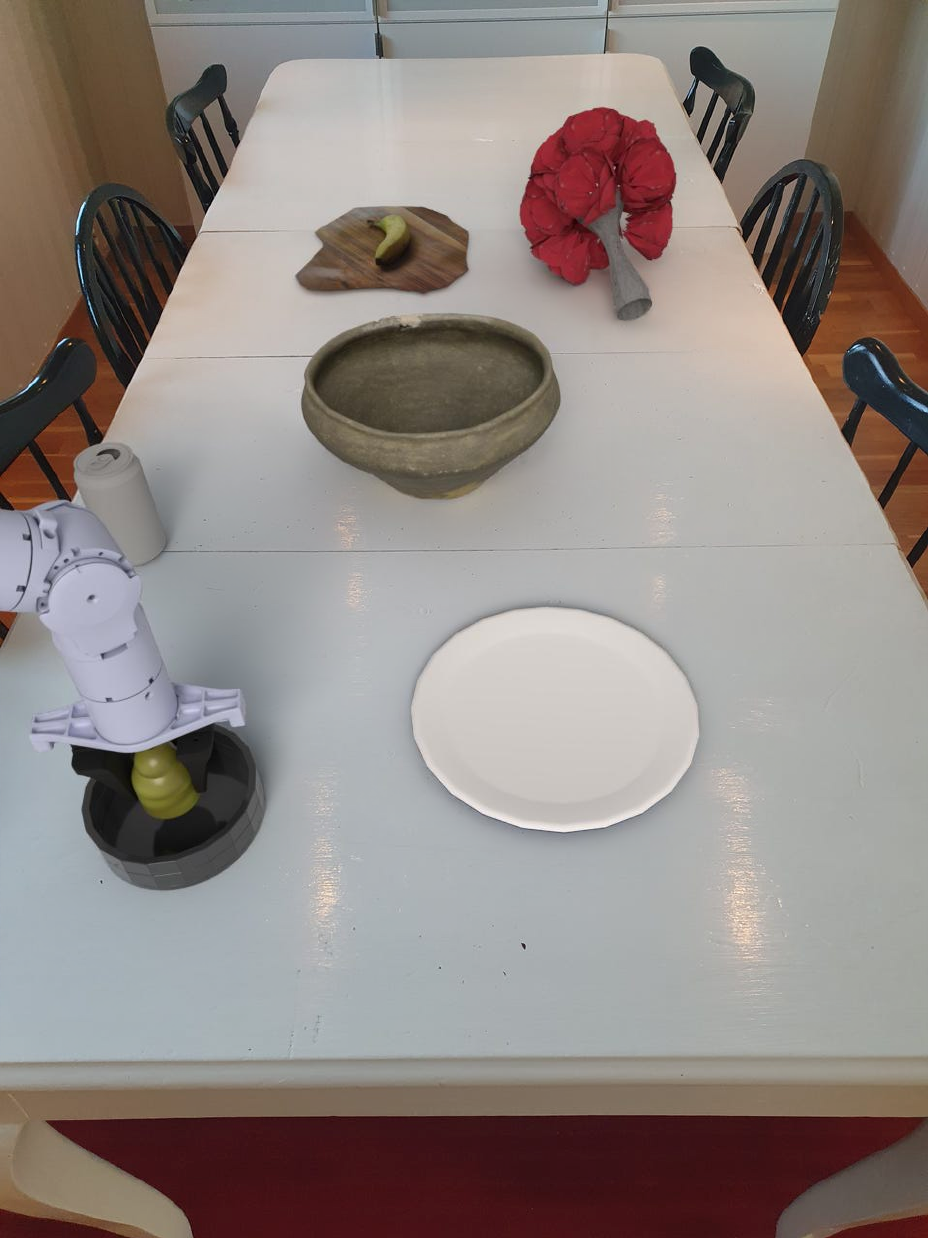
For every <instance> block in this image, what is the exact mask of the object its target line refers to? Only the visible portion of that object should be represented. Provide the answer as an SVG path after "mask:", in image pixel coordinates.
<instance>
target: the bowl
mask: <svg viewBox="0 0 928 1238" xmlns="http://www.w3.org/2000/svg"><path fill="white" fill-rule="evenodd" d="M303 379H304V385H303V389H302V393H301V398H300V399H301V400H300V408H301V413H302V417H303V420H304V423H305V425H306V427H307V428H308V430H309V432H310V433H311V435H312V436H314V438H315V440H317V441H318V443H320V444H321V446H322V447H323V448H324V449H326V450H327V451H328V452H329V453H330V454H331V455H333V456H335V457H336V458H337V459H338V460H340V461H341V462H343V463H345V464H347V465H349V466H351V467H353V468H355V469H357V470H359V471H362V472H364V473H367V474H370V475H373V476H374V477H376V478H377V479H379V480H380V481H382V482H384V483H385V484H387V485H389V486H390V487H391V488H393V489H394V490H396V491H397V492H398V493H401V494H403V495H406V496H408V497H412V498H416V499H421V500H426V499H427V500H429V499H430V500H448V499H449V500H451V499H456V498H459V497H463V496H465V495H467V494H469V493H471V492H473V491H475V490H477V489H478V488H479V487H480V486H481V485H482V484H484V483H485V482H486V481H487V480H488V479H490V478H491V477H493V476H494V475H495V474H496V473H497V472H499V471H500V470H501V469H502V468H504V467H505V466H506V465H508V464H509V463H511V462H513V461H514V460H515V459H516V458H518V457H519V456H521V455H522V454H523V453H525V452H526V451H527V450H529V449H530V448H532V446H534V444H535V443H536V442H537V441H539V439H540V438H541V437H543V435H544V434H545V433H546V431H547V430H548V429H549V428H550V426H551V424H552V423H553V421H554V420H555V418H556V416H557V414H558V411H559V410H560V407H561V400H562V399H561V398H562V396H561V388H560V384H559V380H558V377H557V375H556V373H555V370H554V365H553V360H552V357H551V354H550V351H549V349H548V348H547V347H546V346H545V345H544V344H543V342H542V341H541V340H540V339H539V337H538V336H537V335H535V334H534V333H533V332H532V331H530V330H528V329H526V328H524V327H522V326H520V325H518V324H516V323H512V322H510V321H508V320H506V319H505V320H504V319H501V318H497V317H493V316H488V315H479V314H471V313H457V312H456V313H455V312H449V313H448V312H443V313H441V312H439V313H437V312H436V313H413V314H404V315H391V316H390V317H383V318H380V319H378V321H376V320H373V321H369V322H366V323H363V324H360V325H358V326H355V327H352V328H350V329H347V330H345V331H343V332H340V333H339V334H338V335H336V336H334V337H333V338H331V339H330V340H328V341H327V342H325V343H324V344H323V345H322V346H321V347H320V348H319V349H318V350H317V351H316V352H314V354H313V355H312V357H311V358H310V360H309V361H308V363H307V365H306V367H305V369H304V374H303Z"/></svg>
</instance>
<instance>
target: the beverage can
mask: <svg viewBox="0 0 928 1238" xmlns="http://www.w3.org/2000/svg"><path fill="white" fill-rule="evenodd" d="M73 468H74V472H73V479H74V482H75V484H76V486H77V489H78V491H79V494H80V496H81V499H82V501H83V504H84V507H85V508H87V509H89V510H90V511H92V512H93V513H94V514H95V515H96V516H97V517H98V518H99V519H100V520H101V521H102V522H103V523H104V525H105V526H106V527H107V529H108V530H109V532H110V534H111V535H112V537H113V538H114V540H115V541H116V543H117V544H118V546H119V547H120V549H121V550H122V552H123V553H124V555H125V556H126V558H127V559H128V561H129V562H130V564H131V565H132V567H133V568H134V567H140V566H143V565H146V564H147V563H150V562H151V561H153V560H155V558H157V557H158V556H159V555H160V554H161V553H162V552H163V550H164V549H165V547H166V544H167V537H166V534H165V530H164V527H163V525H162V522H161V519H160V516H159V511H158V509H157V507H156V503H155V501H154V498H153V495H152V492H151V488H150V486H149V484H148V480H147V477H146V474H145V471H144V468H143V465H142V462H141V459H140V458H139V457H138V456H137V455H136V454H135V453H134V451H133V449H132V448H131V447H130V446H129V445H127V444H125V443H122V442H117V441H109V442H108V441H107V442H100V443H96V444H94V445H91V446H89V447H87V448H85V449H83V450H82V451H81V452H79V453H78V454H77V455H76V456H75V458H74V460H73Z"/></svg>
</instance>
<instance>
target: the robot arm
mask: <svg viewBox="0 0 928 1238" xmlns="http://www.w3.org/2000/svg"><path fill="white" fill-rule="evenodd" d="M142 592H143V580H142V575H140V574H136V572H135V569H134V567H132V565H131V564H130V562H129V561H128V559H127V558H126V556H125V555H124V553H123V552H122V550H121V549H120V547H119V546H118V544H117V543H116V541H115V540H114V538H113V537H112V535H111V534H110V532H109V530H108V529H107V527H106V526H105V525H104V523H103V522H102V521H101V520H100V519H99V518H98V517H97V516H96V515H95V514H94V513H93V512H92V511H90V510H89V509H87V508H86V506H82V505H79V504H76V503H73V502H71V501H69V500H67V499H58V500H50V501H47V502H44V503H41V504H39V505H36V506H34V507H32V508H30V509H25V510H19V509H13V510H10V509H3V508H0V612H8V613H9V612H11V613H22V614H23V613H29V614H30V613H31V614H37V613H39V614H40V615H39V616H38V618H39V620H40V622H41V623H42V624H43V626H44V627H46V628H47V629H48V630H50V633H51V639H52V643H53V644H54V646H55V649H56V650H57V652H58V654H59V657H60V658H61V660H62V663H63V664H64V667H65V668H66V670H67V672H68V675H69V677H70V679H71V681H72V683H73V685H74V686H75V689H76V692H77V693H78V695H79V697H80V699H81V700H78V701H76V702H72V703H70V704H67V705H65V706H63V707H59V708H57V709H53V710H50V711H46V712H41V713H35V714H32V717H31V721H30V725H29V729H28V732H27V733H28V734H27V737H28V739H29V741H30V742H31V744H32V746H33V748H34V749H35V751H36V752H37V753H45V752H51V751H52V750H53V749H54V748H55V744H59V743H60V744H65V745H66V744H67V745H69V746H70V748H71V752H72V756H71V761H70V763H71V764H70V765H71V768H72V770H73V771H74V773H75V774H76V775H77V776H81V777H87V778H89V779H90V778H93V779H95V780H98V781H100V782H102V783H104V784H106V785H107V786H109V787H110V788H112V789H113V790H115V791H116V792H117V793H119V794H120V795H121V796H122V797H124V798H125V799H126V800H127V801H128V802H137V801H138V796H137V794H136V792H135V790H134V788H133V785H132V780H131V774H132V768H133V765H134V763H133V761H132V759H131V757H130V755H129V753H133V752H140V751H144V750H147V749H150V748H152V747H155V746H157V745H160V744H162V743H165V742H167V741H170V740H172V739H175V738H177V737H178V738H177V750H176V758H177V760H178V761H180V762H181V763H182V764H183V765H184V767H185V768H186V769H187V771H188V773H189V775H190V777H191V780H192V784H193V787H194V789H195V791H196V792H197V793H203V792H206V791H207V776H208V771H207V765H206V764H207V762H208V760H209V758H210V756H211V753H212V748H213V736H214V723H215V724H216V723H222V722H228V723H229V725H230V727H231V728H237V727H244V726H246V720H247V709H246V708H247V704H246V701H245V698H244V694H243V691H242V688H241V687H240V688H239V687H238V688H227V689H224V688H213V687H207V686H199V685H193V684H186V683H181V682H180V683H179V682H173V681H171V679H170V675H169V673H168V671H167V668H166V665H165V663H164V660H163V657H162V655H161V652H160V650H159V649H160V648H159V647H158V643H157V641H156V639H155V636H154V633H153V631H152V628H151V625H150V623H149V620H148V618H147V615H146V612H145V609H144V607H143V606H142V604H141V603H140V600H141V597H142V594H143V593H142Z"/></svg>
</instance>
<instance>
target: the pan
mask: <svg viewBox="0 0 928 1238" xmlns="http://www.w3.org/2000/svg"><path fill="white" fill-rule="evenodd" d="M177 738H178V737H177ZM177 738H175V739H172V740H170V742H171V743H173V744H174V746H176V747H177ZM129 755H130V757H131V759H132V761H133V763H134V755H135V752H133V753H129ZM206 765H207V771H208V776H207V791H206V792H203V793H201V794H200V797H199V799H198V801H197V802H196V804H195V805H194V806H193V807H192V808H191V809H190V810H189V811H188V812H186V813H184V814H183V815H181V816H178V817H175V818H171V819H159V818H155V817H153V816H151V815H149V814H148V813H147V812H146V811H145V810H144V808H143V806H142V804H141V802H140V800H139V798H138V801H137V802H128V801H127V800H126V799H125V798H124V797H122V796H121V795H120V794H119V793H117V792H116V791H115V790H113V789H112V788H110V787H109V786H107V785H106V784H104V783H102V782H100V781H98V780H95V779H93V778H90V777H89V780H88V782H87V783H86V785H85V788H84V793H83V798H82V803H81V809H80V810H81V811H80V812H81V815H82V816H81V817H82V820H83V825H84V830H85V832H86V834H87V836H88V838H89V839H90V841H91V843H92V845H93V846H94V848H95V850H96V851H97V853H98V855H99V856H100V857H101V858H102V860H103V861H104V863H105V864H106V866H107V867H108V869H109V870H110V871H111V872H112V873H113V874H114V875H115V876H117V877H118V878H119V879H121V880H122V881H124V882H126V883H127V884H129V885H132V886H135V887H137V888H139V889H144V890H145V889H146V890H150V891H174V890H180V889H185V888H190V887H193V886H196V885H199V884H201V883H204V882H206V881H207V882H208V881H209V880H210V879H213V878H215V877H216V876H218V875H220V874H221V873H223V872H224V871H226V870H227V869H229V868H230V867H231V866H233V864H234V863H236V862H237V861H238V860H239V859H240V858H241V857H242V856H243V855H244V854H245V853H246V851H247V850H248V849H249V848H250V846H251V845H252V843H253V842H254V840H255V839H256V836H257V835H258V832H259V830H260V828H261V826H262V822H263V819H264V815H265V807H266V806H265V803H266V802H265V793H264V792H265V791H264V787H263V784H262V781H261V777H260V774H259V770H258V767H257V764H256V763H255V759H254V757H253V754H252V751H251V749H250V747H249V746H248V744H246V742H244V740H242V739H241V737H240V736H238V734H237V733H236V732H235V731H232V730H230V729H228V728H225V727H224V726H221V725H219V724H218V723H216V722H215V723H214V736H213V748H212V753H211V756H210V758H209V760H208V762H207V764H206Z"/></svg>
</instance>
